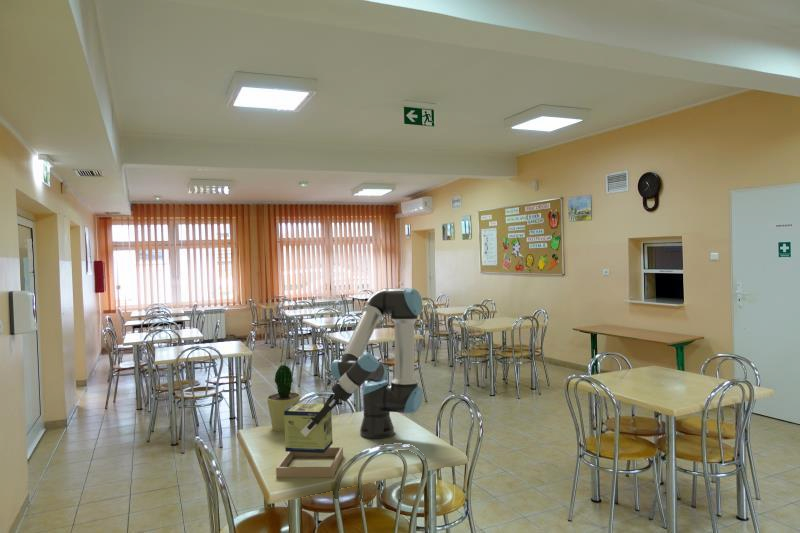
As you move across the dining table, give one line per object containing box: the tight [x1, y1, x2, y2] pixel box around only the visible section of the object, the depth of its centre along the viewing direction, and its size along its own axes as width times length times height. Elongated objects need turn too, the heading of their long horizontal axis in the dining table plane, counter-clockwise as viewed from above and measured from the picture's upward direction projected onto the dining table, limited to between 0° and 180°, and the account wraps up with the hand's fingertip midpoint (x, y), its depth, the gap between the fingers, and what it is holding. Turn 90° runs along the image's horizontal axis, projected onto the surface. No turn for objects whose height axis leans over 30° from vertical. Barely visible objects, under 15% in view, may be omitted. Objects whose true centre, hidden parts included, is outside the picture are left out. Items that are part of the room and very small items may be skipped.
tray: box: [275, 446, 344, 478], centre depth 207 cm, size 21×22×4 cm
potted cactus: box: [266, 364, 301, 432], centre depth 257 cm, size 15×15×30 cm
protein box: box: [284, 402, 334, 453], centre depth 206 cm, size 10×16×16 cm
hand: (306, 428), depth 206 cm, fingers closed on protein box, 11 cm apart
